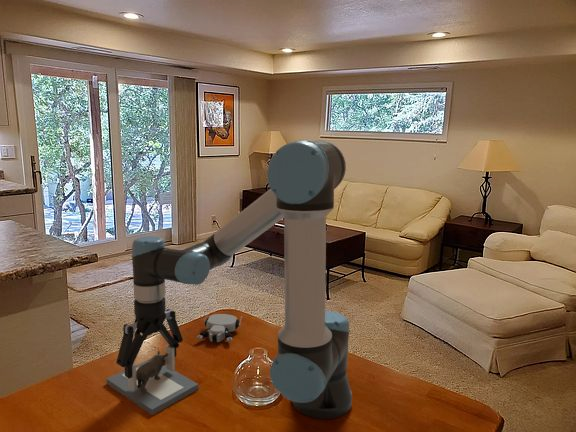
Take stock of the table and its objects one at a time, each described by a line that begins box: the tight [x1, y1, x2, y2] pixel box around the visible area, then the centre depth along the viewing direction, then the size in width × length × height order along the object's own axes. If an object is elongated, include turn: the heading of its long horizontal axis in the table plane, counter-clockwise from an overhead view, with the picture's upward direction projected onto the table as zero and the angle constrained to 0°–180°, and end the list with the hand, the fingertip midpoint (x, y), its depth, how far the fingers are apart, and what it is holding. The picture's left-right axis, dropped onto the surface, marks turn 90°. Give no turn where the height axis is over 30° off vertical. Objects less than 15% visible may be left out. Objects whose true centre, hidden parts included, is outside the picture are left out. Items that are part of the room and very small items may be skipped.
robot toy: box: [196, 313, 243, 343], centre depth 144 cm, size 12×4×15 cm
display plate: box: [105, 358, 199, 416], centre depth 114 cm, size 20×14×2 cm
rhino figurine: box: [136, 350, 168, 393], centre depth 113 cm, size 4×14×6 cm, turn 165°
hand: (152, 378), depth 113 cm, fingers closed on rhino figurine, 11 cm apart
